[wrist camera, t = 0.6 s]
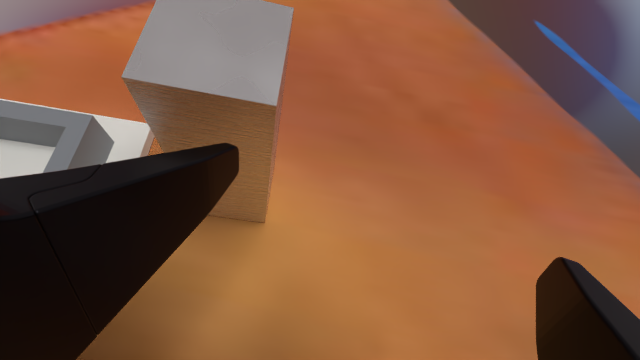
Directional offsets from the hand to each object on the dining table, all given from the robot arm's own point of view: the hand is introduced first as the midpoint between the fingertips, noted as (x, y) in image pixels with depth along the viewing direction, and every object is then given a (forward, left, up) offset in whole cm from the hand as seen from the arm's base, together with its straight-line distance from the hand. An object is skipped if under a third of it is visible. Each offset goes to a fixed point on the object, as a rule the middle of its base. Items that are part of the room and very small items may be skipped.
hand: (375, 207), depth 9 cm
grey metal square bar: (+1, +7, -13) cm, 15 cm away
